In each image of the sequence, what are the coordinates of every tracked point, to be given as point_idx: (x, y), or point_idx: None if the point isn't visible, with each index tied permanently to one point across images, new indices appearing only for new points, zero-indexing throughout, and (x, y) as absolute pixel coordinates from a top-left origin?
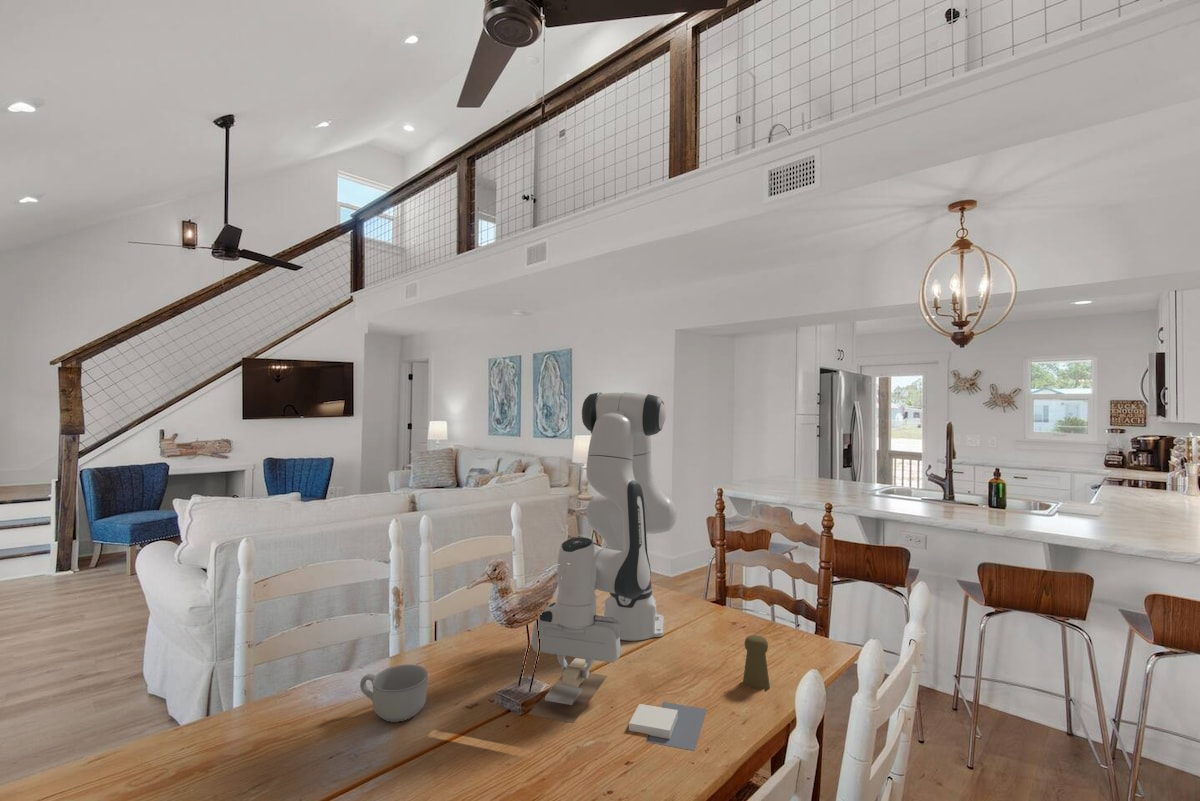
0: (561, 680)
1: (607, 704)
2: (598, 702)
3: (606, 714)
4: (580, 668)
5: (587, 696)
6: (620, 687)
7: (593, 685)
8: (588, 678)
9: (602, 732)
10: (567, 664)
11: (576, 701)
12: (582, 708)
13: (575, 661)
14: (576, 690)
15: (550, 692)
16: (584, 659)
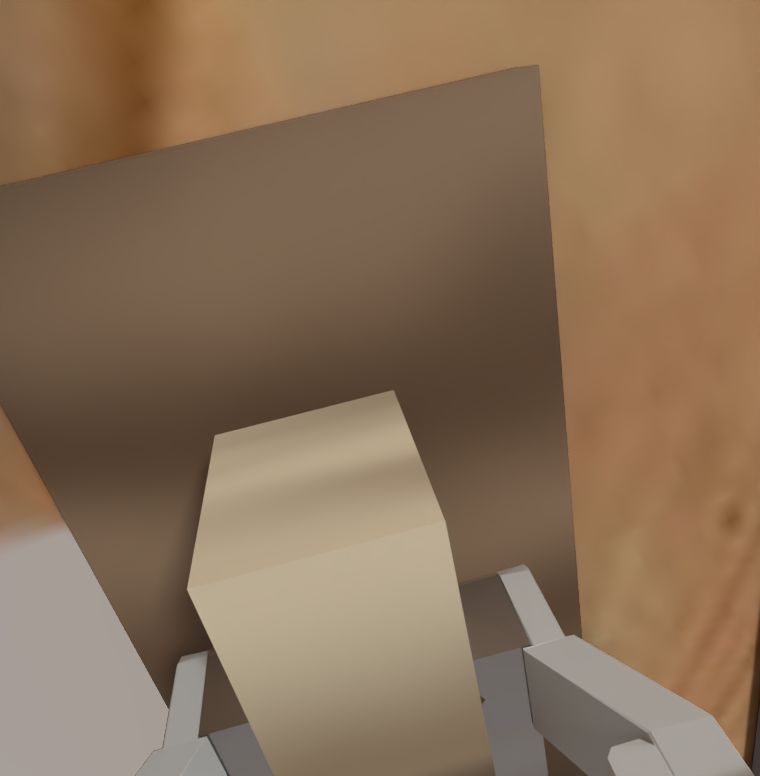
0: (104, 504)
1: (689, 508)
2: (610, 524)
3: (721, 611)
4: (494, 771)
5: None
6: (722, 159)
7: (490, 399)
8: (349, 289)
9: (749, 744)
10: (209, 741)
11: None
12: None
13: (289, 680)
14: (514, 764)
15: None
16: (384, 547)
